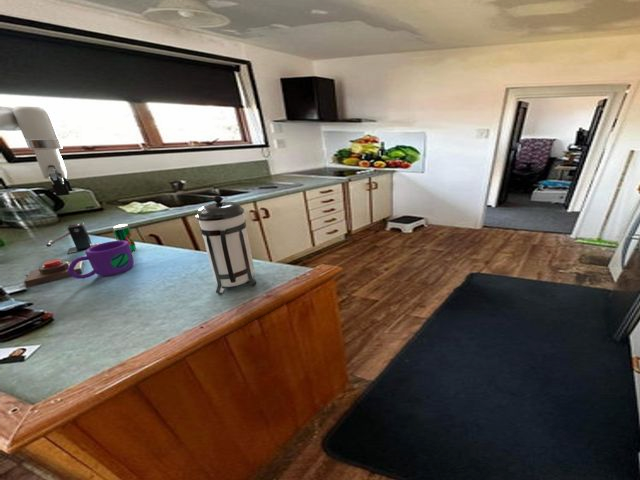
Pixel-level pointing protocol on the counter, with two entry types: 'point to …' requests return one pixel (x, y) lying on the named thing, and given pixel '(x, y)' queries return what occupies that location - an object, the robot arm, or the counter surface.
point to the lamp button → (52, 263)
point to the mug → (105, 259)
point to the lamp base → (52, 273)
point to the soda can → (124, 235)
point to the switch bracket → (80, 238)
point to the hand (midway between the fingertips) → (65, 193)
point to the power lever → (58, 239)
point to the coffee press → (226, 243)
